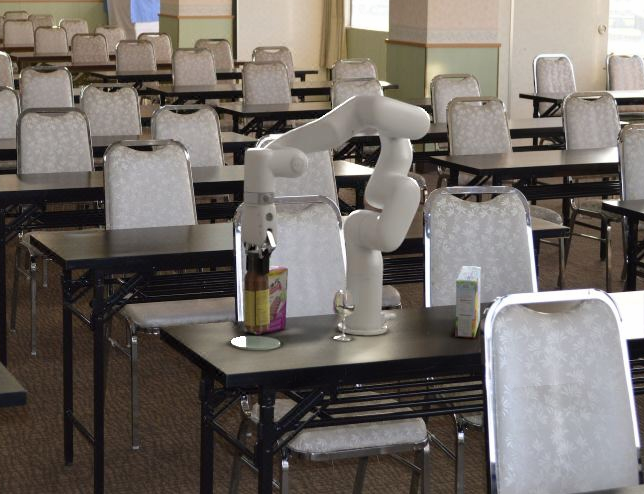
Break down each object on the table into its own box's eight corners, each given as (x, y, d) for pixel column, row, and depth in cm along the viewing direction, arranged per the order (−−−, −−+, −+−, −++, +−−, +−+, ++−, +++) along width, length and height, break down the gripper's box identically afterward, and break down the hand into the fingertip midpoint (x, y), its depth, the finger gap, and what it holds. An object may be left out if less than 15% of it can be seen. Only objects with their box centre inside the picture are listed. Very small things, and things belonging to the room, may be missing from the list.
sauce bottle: (271, 328, 308) (273, 249, 306) (267, 333, 302) (269, 253, 300) (245, 326, 310) (247, 248, 307) (240, 331, 304) (242, 252, 301)
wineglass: (357, 337, 315) (358, 291, 314) (350, 342, 310) (351, 295, 309) (335, 334, 318) (337, 289, 316) (328, 339, 312) (329, 293, 311)
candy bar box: (258, 335, 315) (259, 272, 313) (244, 332, 319) (245, 269, 317) (287, 329, 323) (288, 267, 321) (272, 325, 327) (274, 264, 325)
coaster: (263, 336, 315) (263, 334, 315) (289, 346, 304) (289, 344, 304) (222, 341, 309) (222, 339, 309) (248, 352, 298) (248, 349, 298)
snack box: (459, 319, 338) (461, 265, 336) (480, 321, 336) (482, 266, 334) (453, 337, 317) (455, 279, 315) (475, 338, 316) (478, 280, 314)
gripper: (291, 202, 297) (289, 276, 299) (253, 194, 311) (252, 265, 313) (264, 203, 293) (263, 279, 295) (228, 195, 308) (226, 267, 310)
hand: (257, 271), depth 304 cm, fingers closed on sauce bottle, 4 cm apart
